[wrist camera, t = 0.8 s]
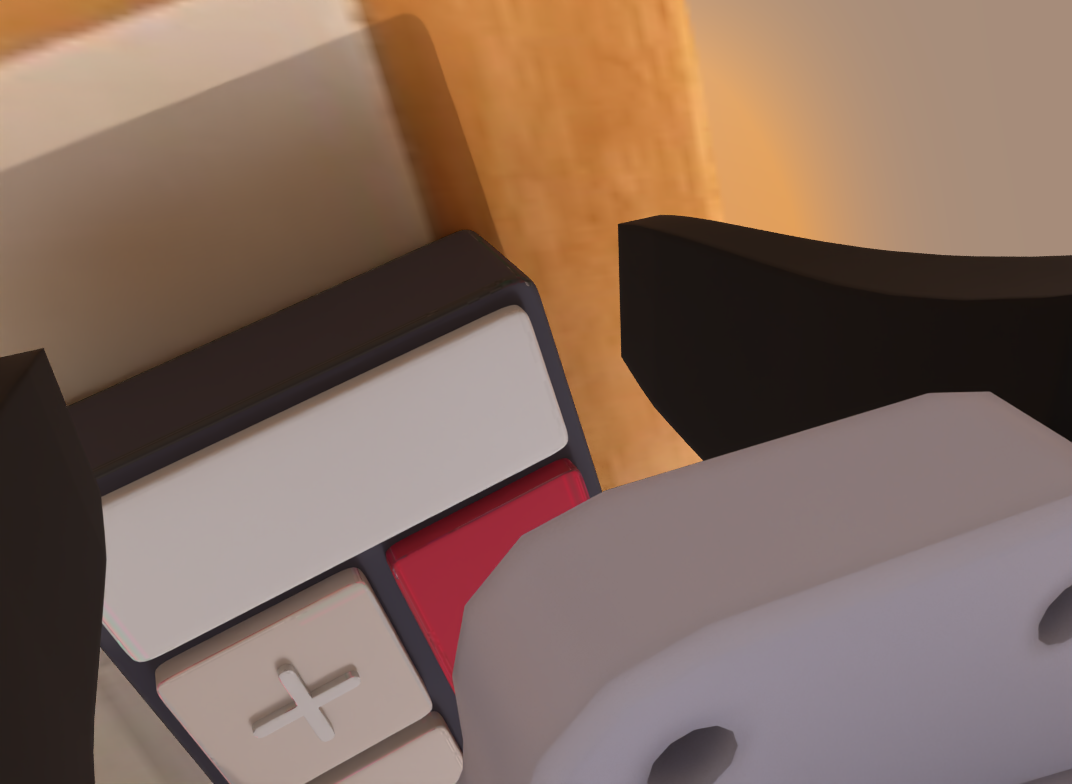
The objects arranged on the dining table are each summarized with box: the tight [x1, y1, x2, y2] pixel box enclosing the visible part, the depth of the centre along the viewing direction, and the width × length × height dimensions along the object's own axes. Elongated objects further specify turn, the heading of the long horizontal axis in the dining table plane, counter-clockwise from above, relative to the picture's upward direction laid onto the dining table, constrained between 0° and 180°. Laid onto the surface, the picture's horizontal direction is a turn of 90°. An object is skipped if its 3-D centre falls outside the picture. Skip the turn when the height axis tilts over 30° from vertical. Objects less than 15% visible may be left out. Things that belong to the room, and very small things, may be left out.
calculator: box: [67, 230, 602, 784], centre depth 23 cm, size 11×4×15 cm
